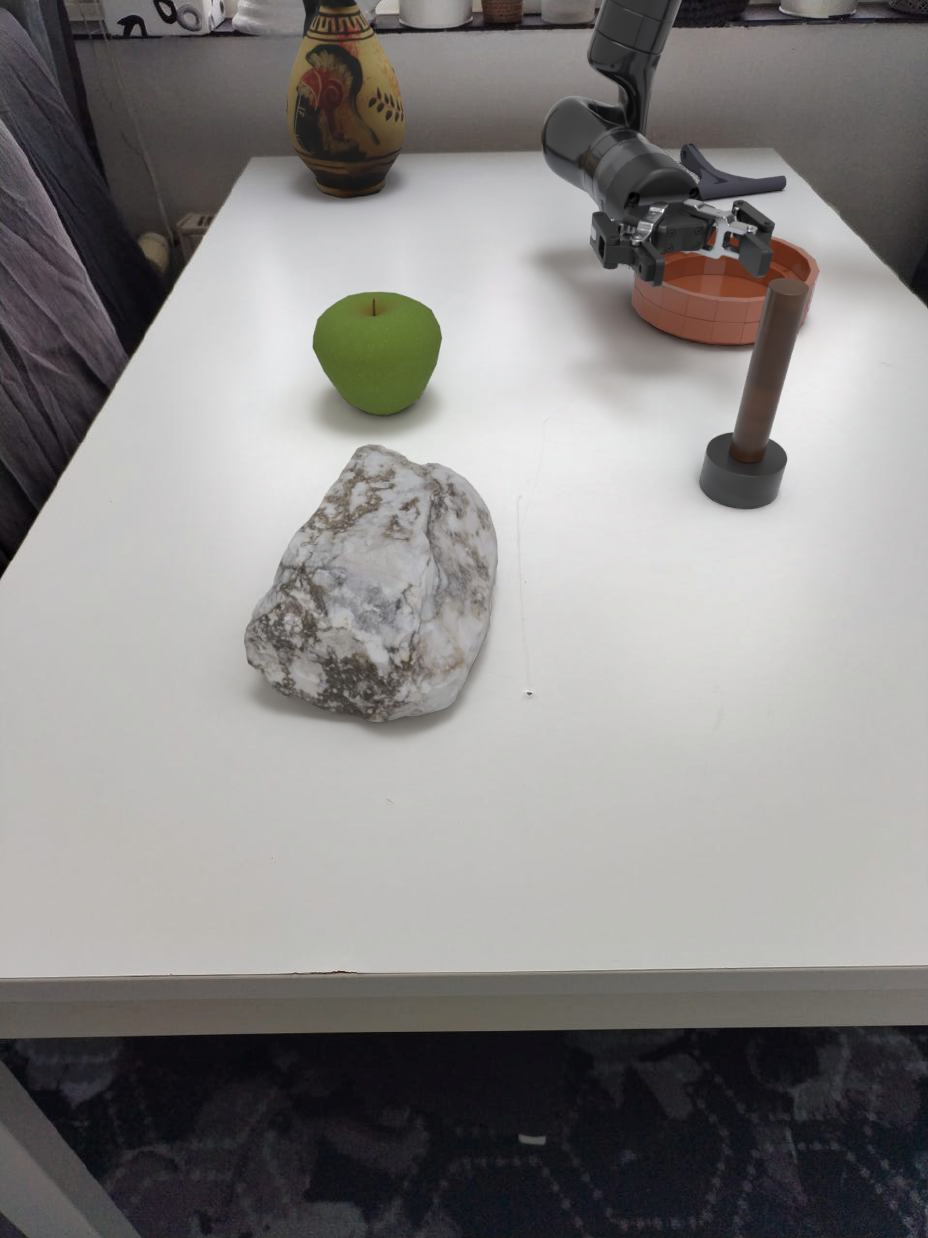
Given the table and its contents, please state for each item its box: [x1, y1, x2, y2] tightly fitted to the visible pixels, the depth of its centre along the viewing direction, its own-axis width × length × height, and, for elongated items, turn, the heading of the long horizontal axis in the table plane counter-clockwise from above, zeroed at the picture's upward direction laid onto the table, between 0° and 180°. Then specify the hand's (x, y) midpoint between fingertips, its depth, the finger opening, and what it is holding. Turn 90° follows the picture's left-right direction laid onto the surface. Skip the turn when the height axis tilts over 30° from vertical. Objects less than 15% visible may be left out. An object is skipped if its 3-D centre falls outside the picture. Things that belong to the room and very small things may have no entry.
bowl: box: [631, 227, 820, 346], centre depth 87 cm, size 18×18×5 cm
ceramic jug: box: [285, 0, 406, 199], centre depth 107 cm, size 17×15×30 cm
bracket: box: [679, 142, 787, 201], centre depth 116 cm, size 14×15×3 cm
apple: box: [312, 291, 443, 417], centre depth 74 cm, size 11×10×10 cm
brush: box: [699, 278, 809, 510], centre depth 62 cm, size 6×6×16 cm
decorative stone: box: [243, 443, 499, 723], centre depth 55 cm, size 20×14×10 cm
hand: (712, 270), depth 67 cm, fingers open, 8 cm apart
